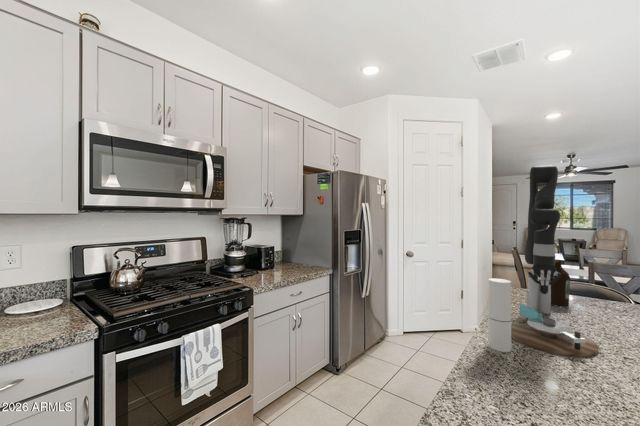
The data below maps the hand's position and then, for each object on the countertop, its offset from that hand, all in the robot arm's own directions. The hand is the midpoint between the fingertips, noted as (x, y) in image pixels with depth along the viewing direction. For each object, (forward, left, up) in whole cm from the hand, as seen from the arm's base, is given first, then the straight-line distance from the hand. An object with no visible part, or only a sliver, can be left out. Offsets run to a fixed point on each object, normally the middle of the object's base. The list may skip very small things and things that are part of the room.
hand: (543, 293), depth 125 cm
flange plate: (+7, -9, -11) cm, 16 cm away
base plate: (+9, -10, -15) cm, 21 cm away
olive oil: (-22, +45, -16) cm, 52 cm away
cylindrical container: (+8, -35, -16) cm, 39 cm away
